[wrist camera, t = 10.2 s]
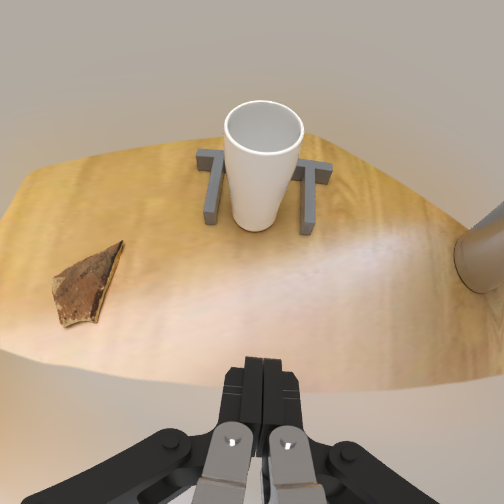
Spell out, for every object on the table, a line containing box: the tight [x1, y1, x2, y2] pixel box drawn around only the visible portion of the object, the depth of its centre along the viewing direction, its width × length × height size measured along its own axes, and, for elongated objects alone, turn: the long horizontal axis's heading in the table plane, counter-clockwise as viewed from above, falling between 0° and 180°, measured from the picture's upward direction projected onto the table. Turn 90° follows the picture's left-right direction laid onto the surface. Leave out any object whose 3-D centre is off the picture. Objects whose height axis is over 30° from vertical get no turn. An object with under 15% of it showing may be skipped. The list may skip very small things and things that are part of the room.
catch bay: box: [196, 149, 333, 235], centre depth 38 cm, size 17×9×3 cm, turn 85°
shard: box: [51, 240, 123, 327], centre depth 33 cm, size 11×8×2 cm
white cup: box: [223, 100, 304, 232], centre depth 32 cm, size 7×7×15 cm
